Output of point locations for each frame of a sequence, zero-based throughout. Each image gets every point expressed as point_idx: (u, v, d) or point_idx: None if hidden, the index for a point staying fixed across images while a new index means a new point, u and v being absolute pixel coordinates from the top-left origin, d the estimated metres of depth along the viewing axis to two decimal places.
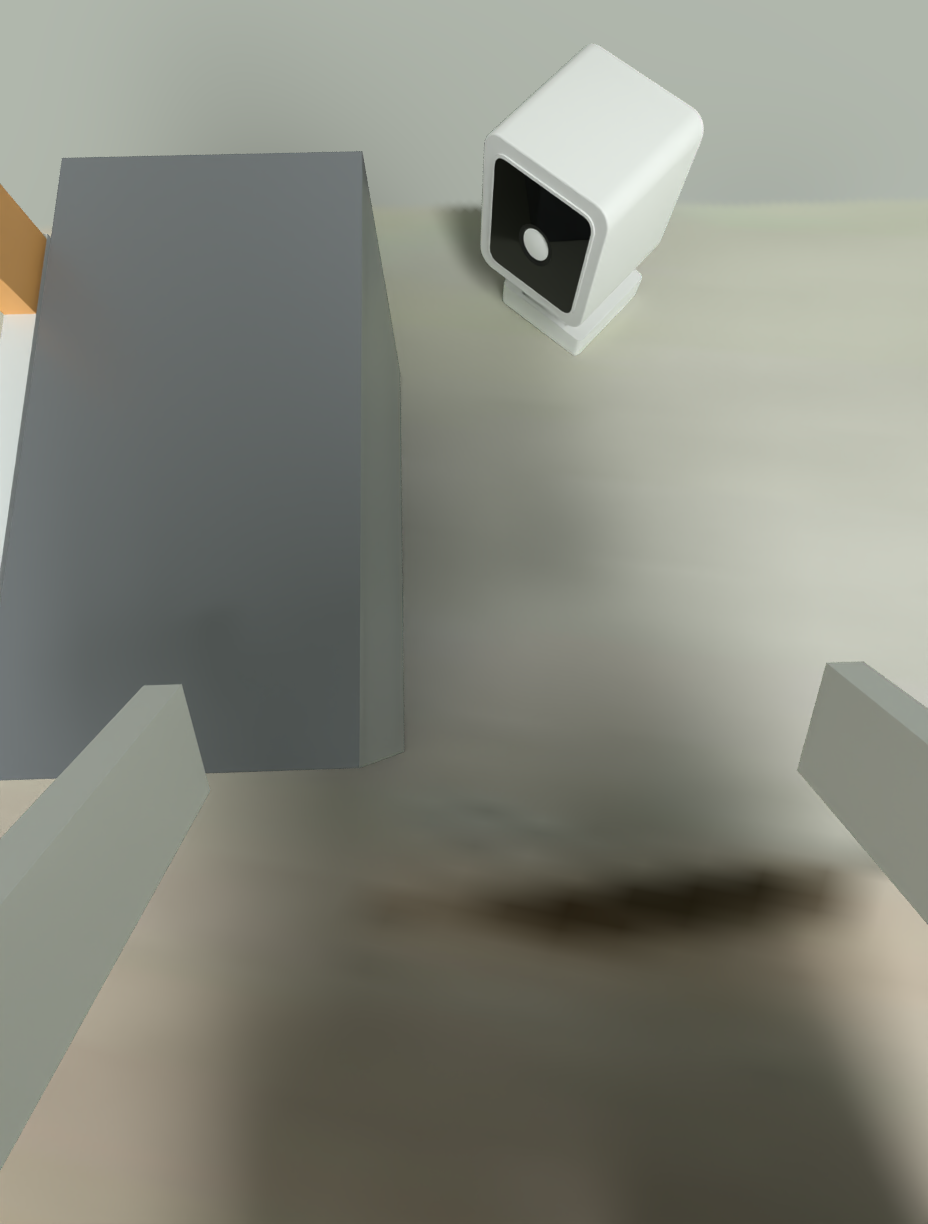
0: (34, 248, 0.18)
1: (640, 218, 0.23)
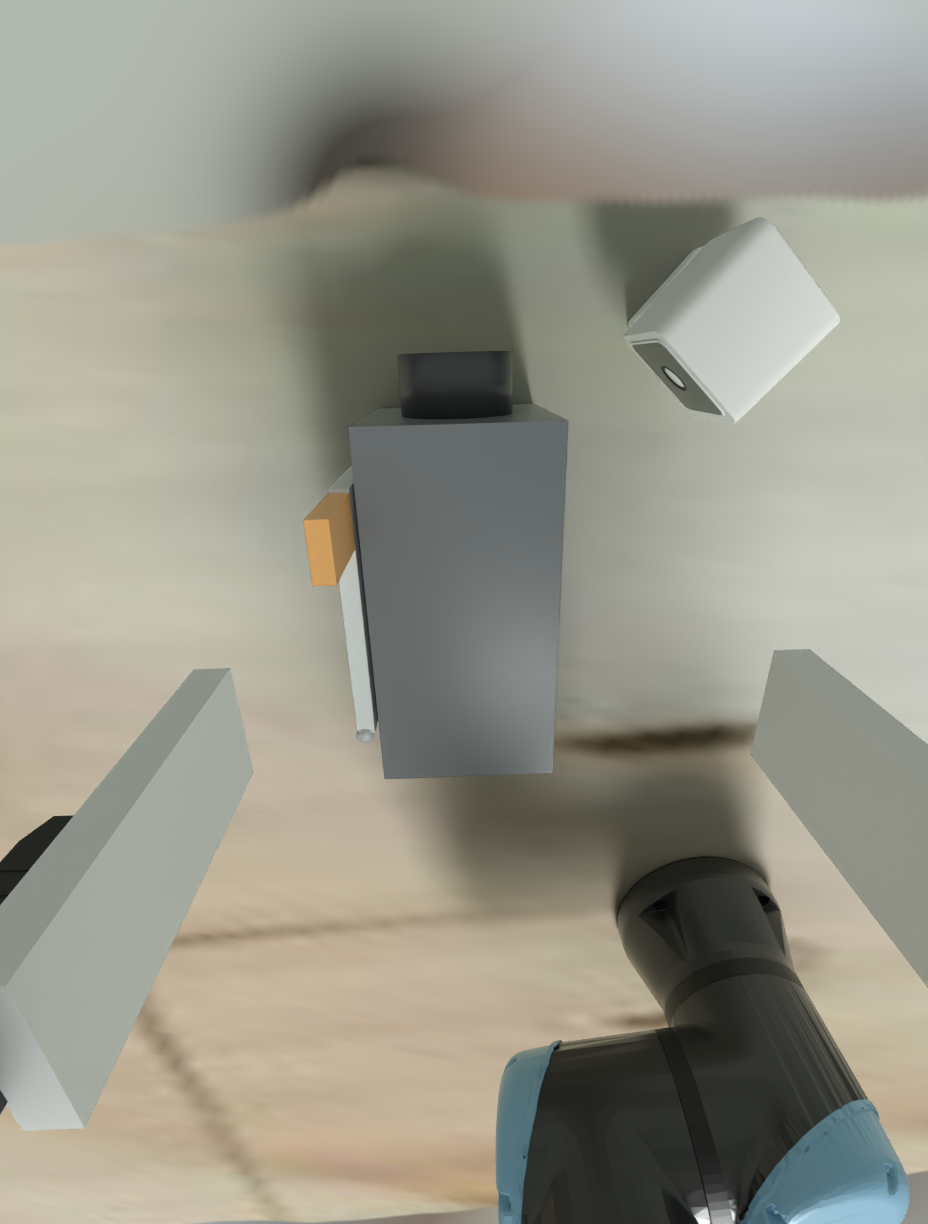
0: (349, 510, 0.27)
1: None
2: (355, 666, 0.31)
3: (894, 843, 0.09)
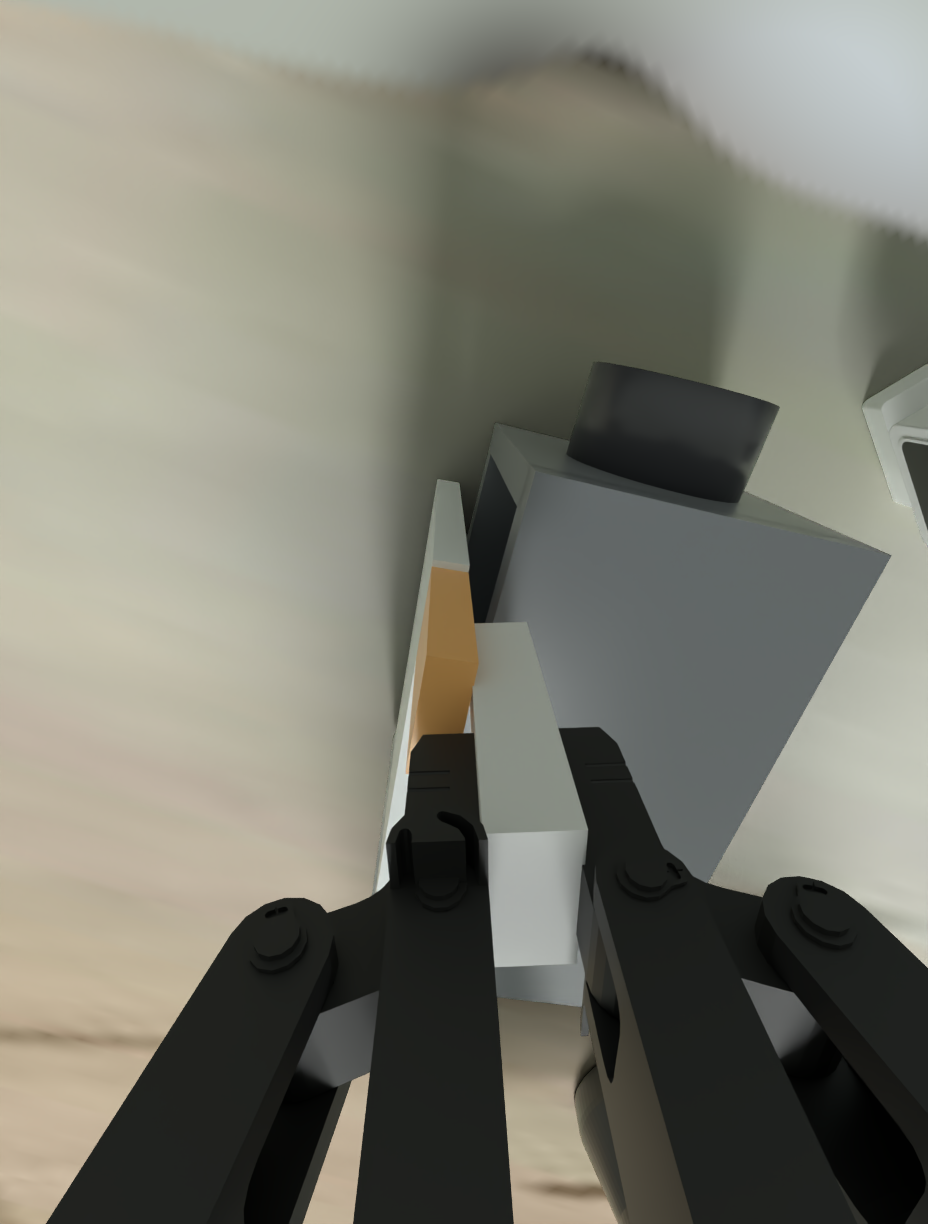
0: None
1: None
2: None
3: None
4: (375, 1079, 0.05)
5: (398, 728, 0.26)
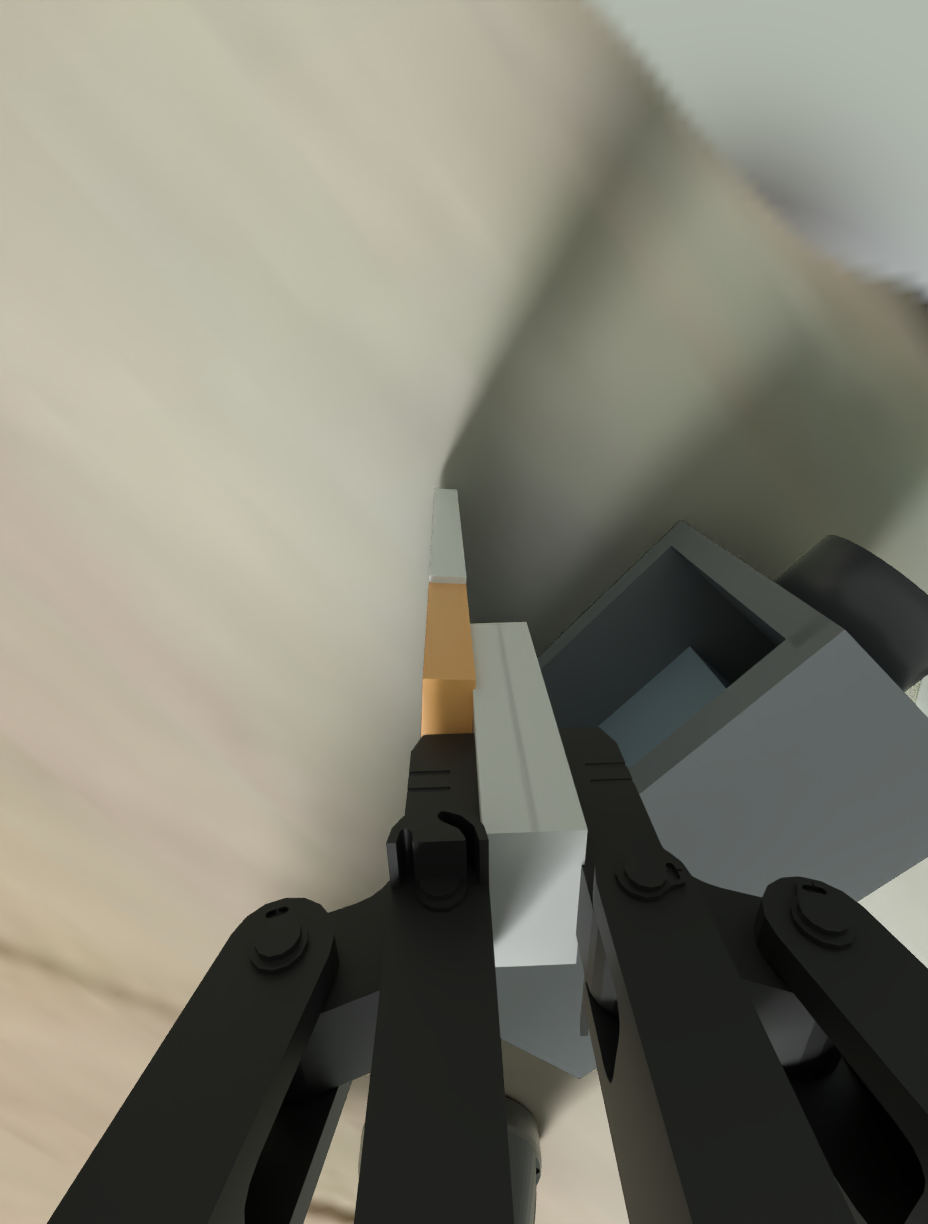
0: None
1: None
2: None
3: None
4: (376, 1079, 0.05)
5: None
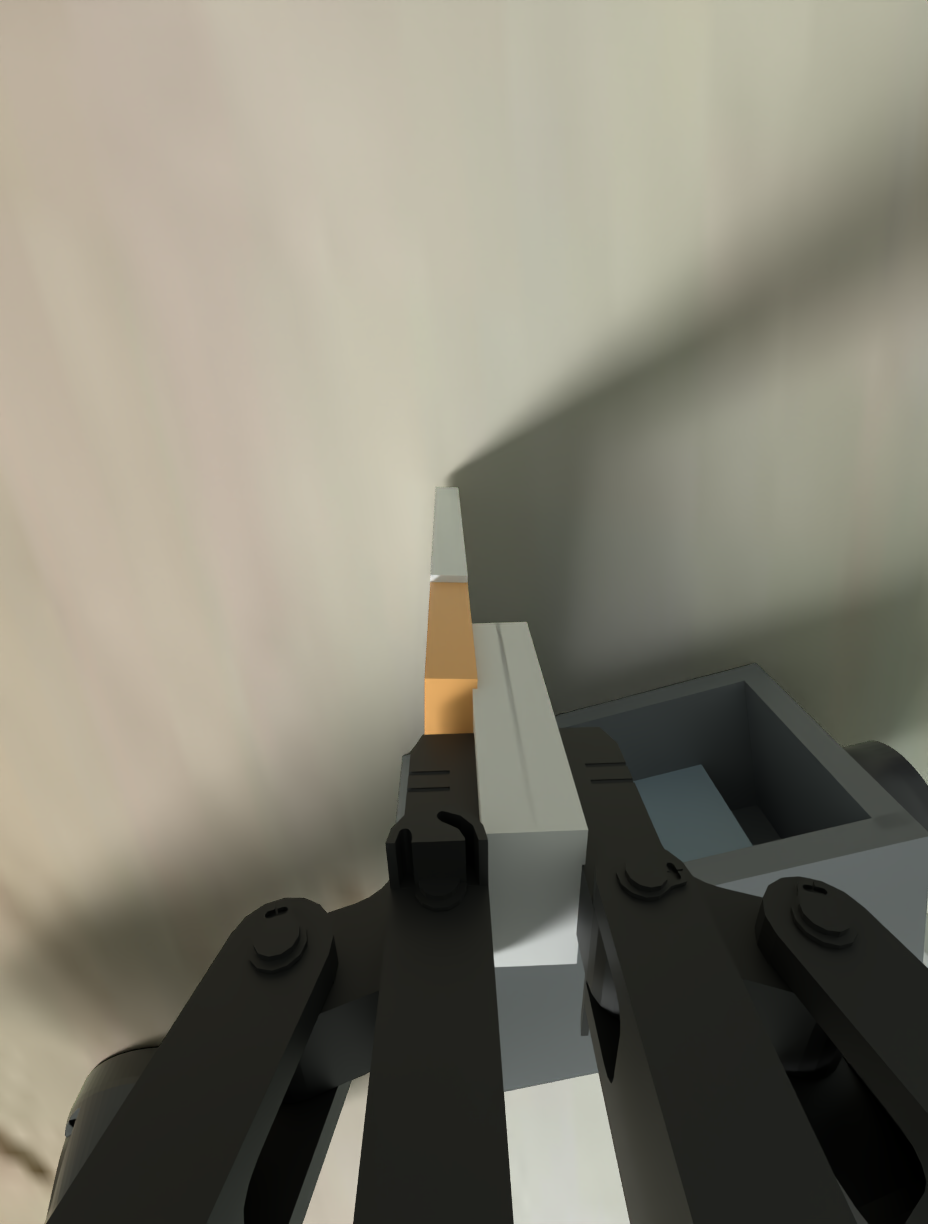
0: None
1: None
2: None
3: None
4: (375, 1079, 0.05)
5: None
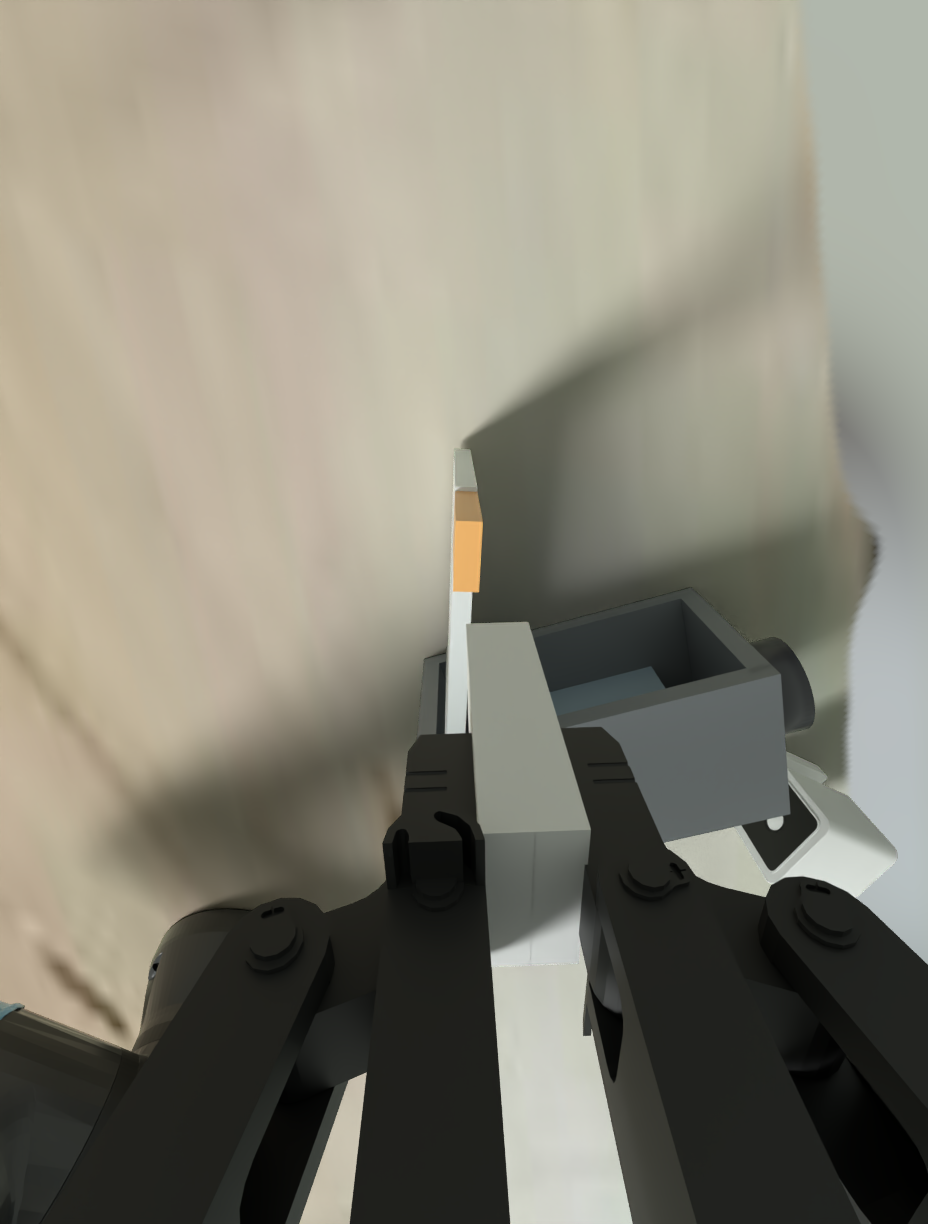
0: None
1: None
2: (455, 673, 0.29)
3: None
4: (372, 1079, 0.05)
5: None
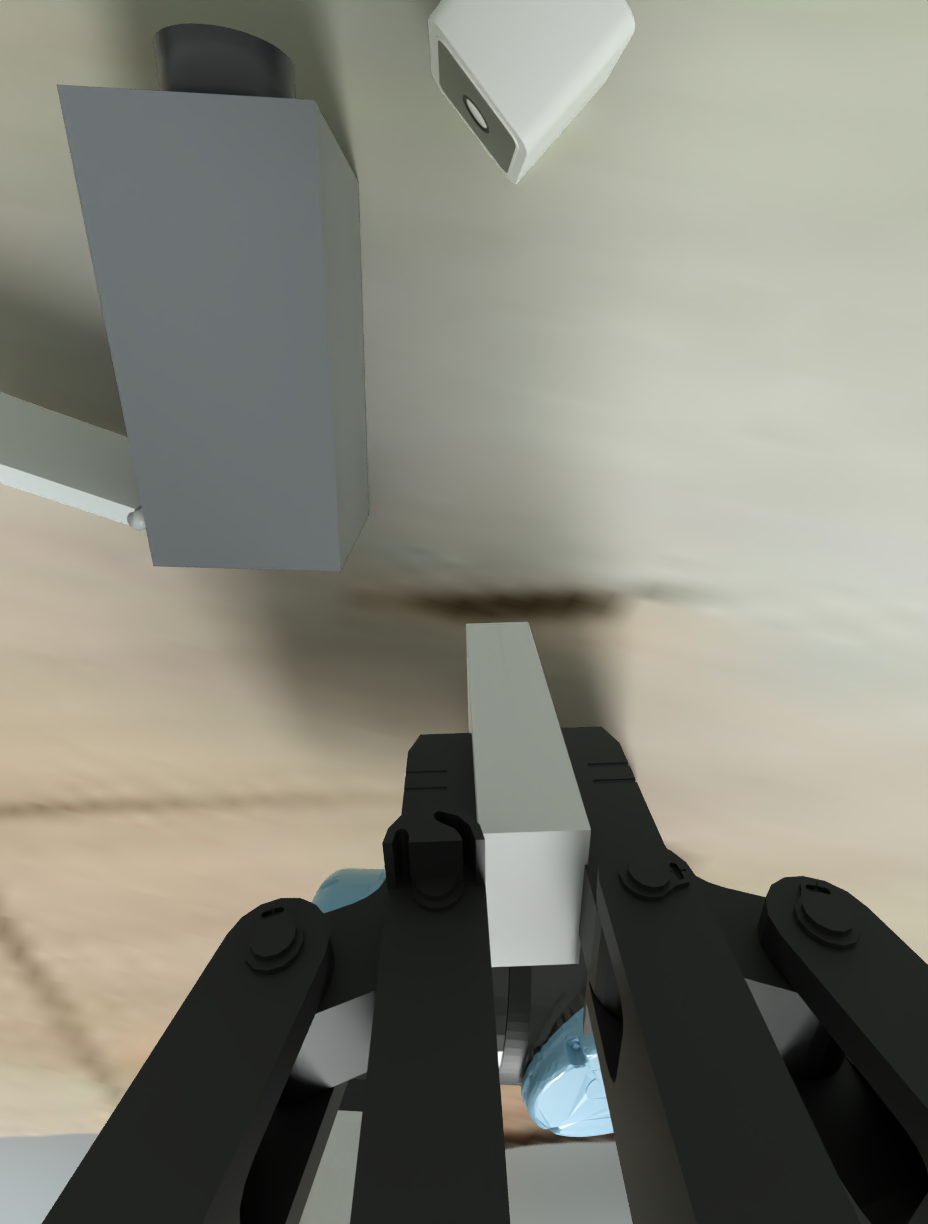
0: None
1: (566, 114, 0.26)
2: (44, 491, 0.29)
3: None
4: (371, 1080, 0.05)
5: None
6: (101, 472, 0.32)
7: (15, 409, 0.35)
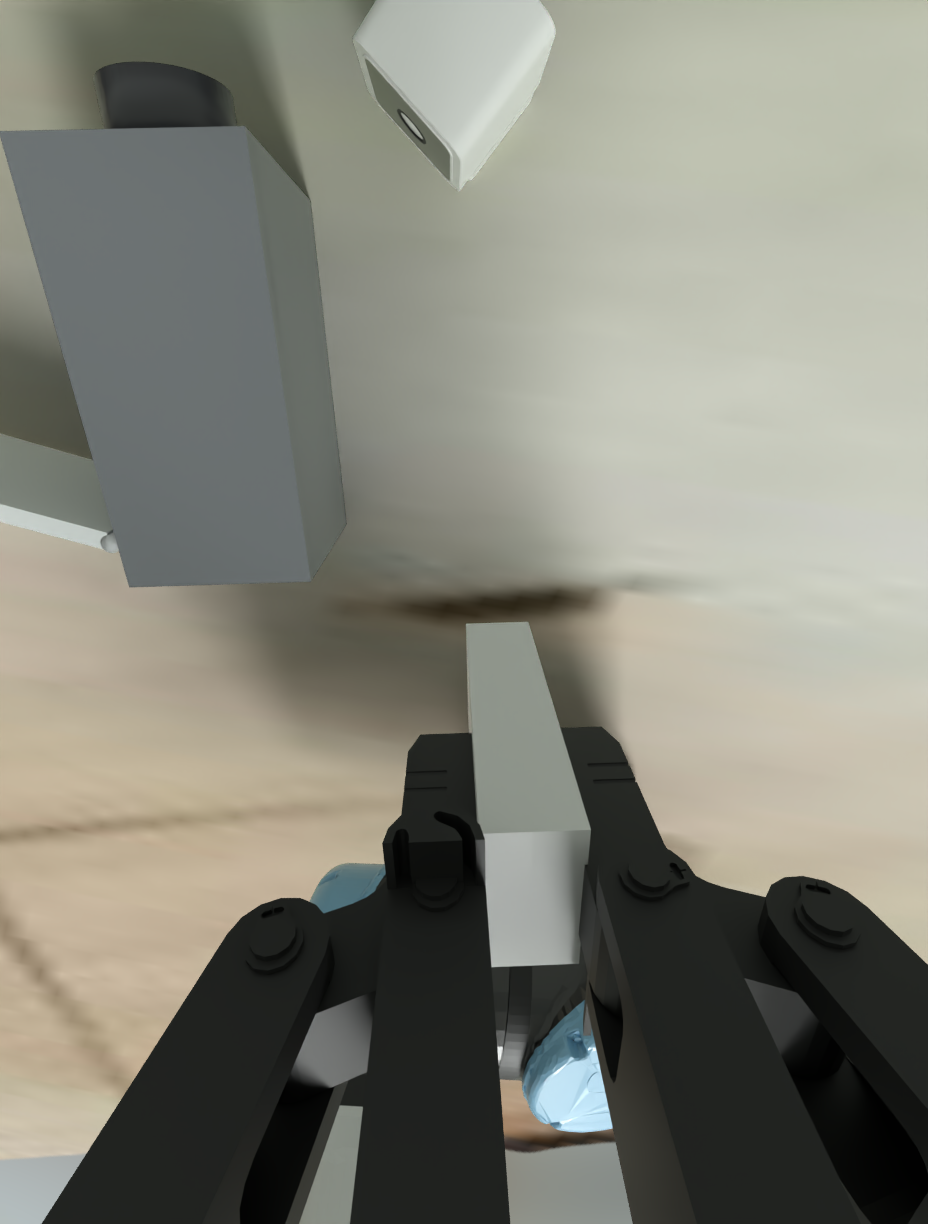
0: None
1: (498, 119, 0.26)
2: (19, 521, 0.30)
3: None
4: (371, 1080, 0.05)
5: None
6: (76, 499, 0.33)
7: None
